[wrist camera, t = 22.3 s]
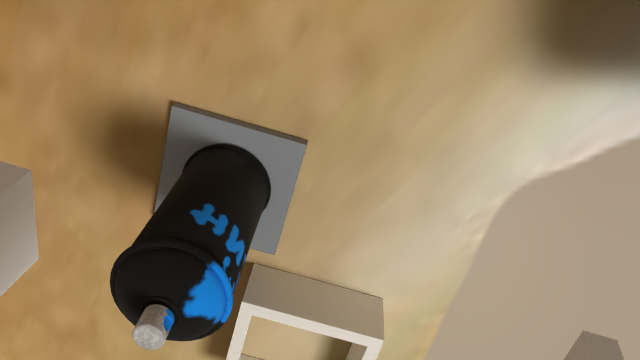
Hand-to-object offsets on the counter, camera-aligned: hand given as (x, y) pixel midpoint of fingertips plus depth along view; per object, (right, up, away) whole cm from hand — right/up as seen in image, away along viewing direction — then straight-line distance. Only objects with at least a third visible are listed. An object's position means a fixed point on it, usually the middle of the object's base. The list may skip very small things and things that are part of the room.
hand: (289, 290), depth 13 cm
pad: (-8, +3, +38) cm, 39 cm away
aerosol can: (-8, +2, +38) cm, 39 cm away
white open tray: (-1, -13, +46) cm, 48 cm away
